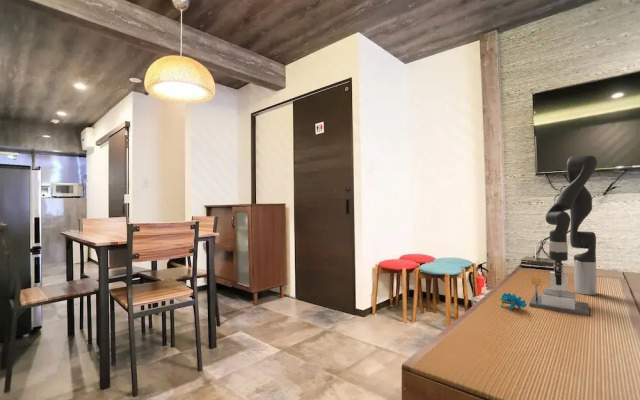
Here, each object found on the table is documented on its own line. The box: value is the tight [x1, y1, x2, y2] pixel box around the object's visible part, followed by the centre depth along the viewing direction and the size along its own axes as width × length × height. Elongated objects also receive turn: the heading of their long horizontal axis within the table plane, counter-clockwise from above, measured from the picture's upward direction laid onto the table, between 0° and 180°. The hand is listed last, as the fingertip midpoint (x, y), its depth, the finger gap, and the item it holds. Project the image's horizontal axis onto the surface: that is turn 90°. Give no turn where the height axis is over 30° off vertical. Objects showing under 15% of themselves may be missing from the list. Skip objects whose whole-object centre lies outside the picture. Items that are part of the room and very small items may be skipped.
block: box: [549, 271, 569, 291], centre depth 160 cm, size 2×7×10 cm, turn 49°
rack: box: [528, 276, 590, 317], centre depth 148 cm, size 17×21×12 cm
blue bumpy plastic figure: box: [499, 292, 527, 311], centre depth 144 cm, size 11×6×10 cm
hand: (558, 284), depth 160 cm, fingers closed on block, 2 cm apart
